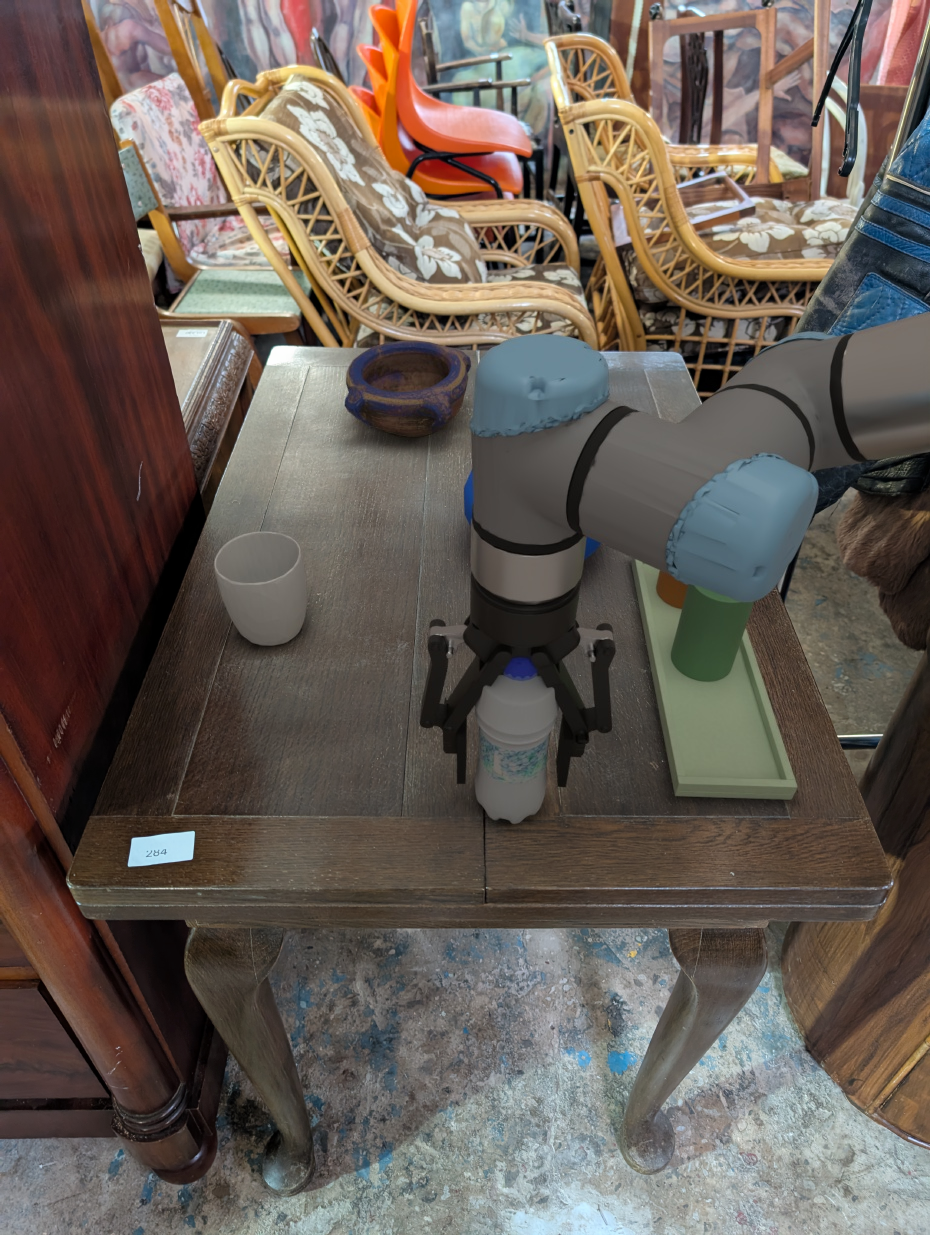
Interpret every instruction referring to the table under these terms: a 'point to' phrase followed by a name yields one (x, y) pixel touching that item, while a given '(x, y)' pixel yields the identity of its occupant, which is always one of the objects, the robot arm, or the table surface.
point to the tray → (712, 714)
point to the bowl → (407, 386)
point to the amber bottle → (671, 590)
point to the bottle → (514, 742)
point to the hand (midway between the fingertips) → (511, 772)
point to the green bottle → (708, 634)
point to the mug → (263, 586)
